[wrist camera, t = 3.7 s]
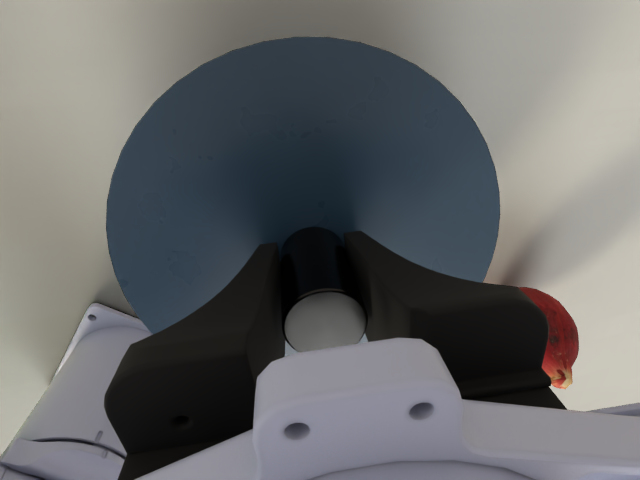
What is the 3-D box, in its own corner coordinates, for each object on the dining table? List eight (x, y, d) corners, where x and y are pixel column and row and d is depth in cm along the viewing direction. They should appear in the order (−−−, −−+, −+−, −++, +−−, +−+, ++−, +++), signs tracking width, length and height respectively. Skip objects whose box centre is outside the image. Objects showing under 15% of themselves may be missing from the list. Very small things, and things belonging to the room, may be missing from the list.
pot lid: (349, 410, 19) (371, 519, 15) (60, 296, 15) (-35, 405, 10) (558, 187, 15) (681, 247, 10) (237, -79, 10) (206, -182, 6)
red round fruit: (465, 269, 27) (533, 347, 20) (541, 264, 27) (634, 338, 20) (453, 332, 30) (510, 421, 23) (523, 326, 30) (599, 412, 23)
